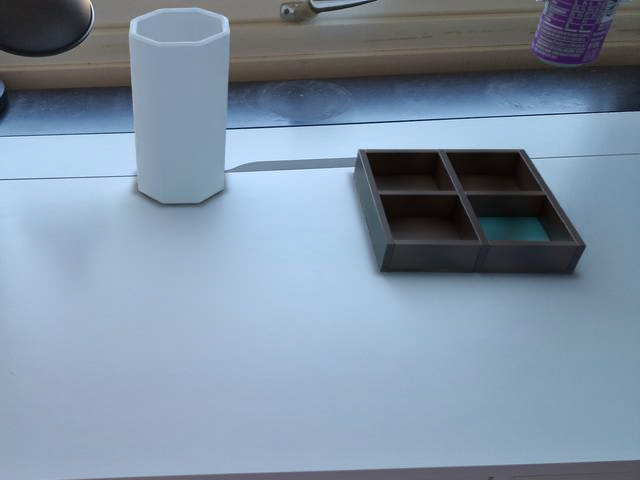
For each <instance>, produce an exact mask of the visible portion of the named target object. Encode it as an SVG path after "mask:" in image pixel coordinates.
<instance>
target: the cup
mask: <svg viewBox="0 0 640 480" xmlns="http://www.w3.org/2000/svg"><path fill="white" fill-rule="evenodd" d="M230 41H231V29H230V22H229V18H228V17H226V16H225V15H223V14H220V13H217V12H213V11H210V10H206V9H203V8H200V7H174V8H173V7H172V8H170V7H169V8H159V9H156V10H153V11H150V12H147V13H145V14H142V15H139V16H137V17H133V19H132V20H130V23H129V31H128V46H129V48H128V49H129V63H130V79H131V92H132V93H131V97H132V112H133V113H132V114H133V128H134V129H133V131H134V146H135V147H134V148H135V163H136V164H135V165H136V177H137V191H138V192H141V193H143V194H145V195H146V196H148V197H150V198H152V199H153V200H155V201H157V202H159V203H161V204H164V205H166V204H171V205H173V204H200V203H202V202H203V201H205V200H207V199H209V198H210V197H213V196H214V195H215V194H217V193H219V192H221V191H222V190H224V189H225V169H226V145H227V144H226V141H227V121H228V120H227V116H228V94H229V93H228V92H229V72H230V71H229V69H230V68H229V67H230V45H231V44H230Z"/></svg>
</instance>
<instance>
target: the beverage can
mask: <svg viewBox="0 0 640 480" xmlns="http://www.w3.org/2000/svg"><path fill="white" fill-rule="evenodd" d="M620 1H621V0H550V1H545V3H544V6H543V9H542V12H541V14H540V18H539V22H538V24H537V27H536V30H535V32H534V36H533V39H532V42H531V45H530V52H531V53H532V54H533V55H534V56H535V57H537V58H538V60H540V61H541V62H542V63H545V64H548V65H551V66H553V67H560V68H561V67H562V68H574V67H575V68H576V67H580V66H583V65H586V64H589V63H592V62H595V61H596V60H598V57H599V55H600V52H601V50H602V48H603V46H604V42H605V41H606V38H607V36H608V33H609V30H610V28H611V25H612V22H613V20H614V18H615V15H616V13H617V10H618V7H619V6H620V4H621V2H620Z"/></svg>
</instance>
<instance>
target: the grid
mask: <svg viewBox="0 0 640 480" xmlns="http://www.w3.org/2000/svg"><path fill="white" fill-rule="evenodd" d="M353 179H354V182H355V185H356V189H357V193H358V197H359V200H360V204H361V207H362V210H363V211H362V212H363V214H364V218H365V222H366V225H367V229H368V232H369V237H370V241H371V243H372V247H373V250H374V254H375V257H376V262H377V264H378V269H379V272H381V273H455V274H456V273H457V274H458V273H459V274H461V273H462V274H464V273H468V274H560V275H561V274H563V275H564V274H565V275H567V274H569V275H571V274H572V275H573V274H574V272H575V270H576V268H577V266H578V264H579V262H580V260H581V258H582V256H583V253H584V252H585V250H586V248H587V244H586V243H585V241H584V239H583V237H582V236H581V235H580V233H579V232H578V230H577V229H576V227H575V225H574V224H573V222H572V221H571V219H570V218H569V216H568V215H567V213H566V212H565V210H564V209H563V207H562V205H561V204H560V202H559V200H558V199H557V198H556V196H555V195H554V193H553V191H552V190H551V188H550V186H549V185H548V183H547V182H546V181H545V179H544V177H543V176H542V174H541V173H540V171H539V169H538V168H537V167H536V165H535V164H534V162H533V161H532V159H531V158H530V156H529V154H528V153H527V152H526V150H525V149H524V148H518V149H517V148H438V149H437V148H436V149H435V148H400V149H399V148H362V149H361V148H359V149H357V154H356V159H355V165H354V170H353Z"/></svg>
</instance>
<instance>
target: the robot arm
mask: <svg viewBox="0 0 640 480" xmlns="http://www.w3.org/2000/svg"><path fill="white" fill-rule="evenodd" d="M546 1H550V0H535V2H546ZM621 2H622V3H625V2H626V3H631V2H633V0H621V1H620V3H621Z"/></svg>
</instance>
